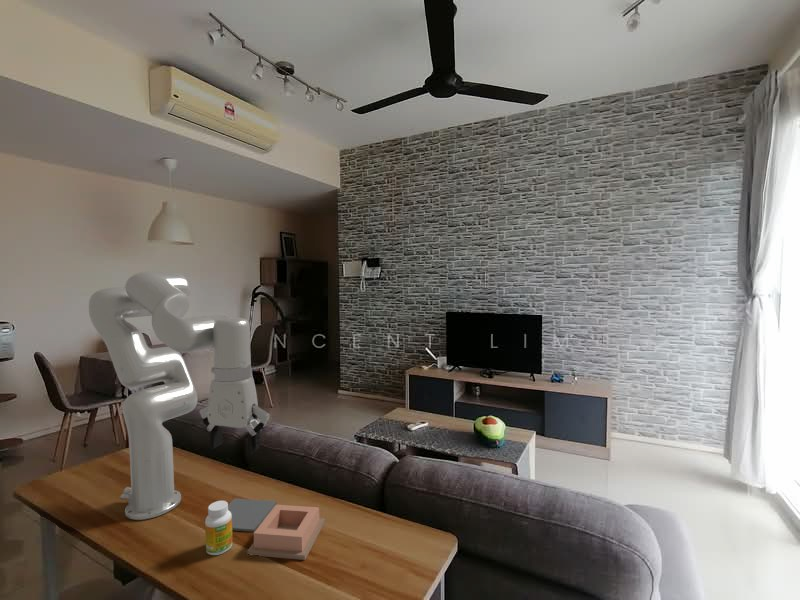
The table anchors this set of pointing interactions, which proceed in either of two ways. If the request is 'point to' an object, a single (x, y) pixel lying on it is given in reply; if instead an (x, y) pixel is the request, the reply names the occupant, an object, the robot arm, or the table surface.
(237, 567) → the table surface
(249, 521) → the rubber mat
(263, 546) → the collar block
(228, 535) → the supplement bottle
